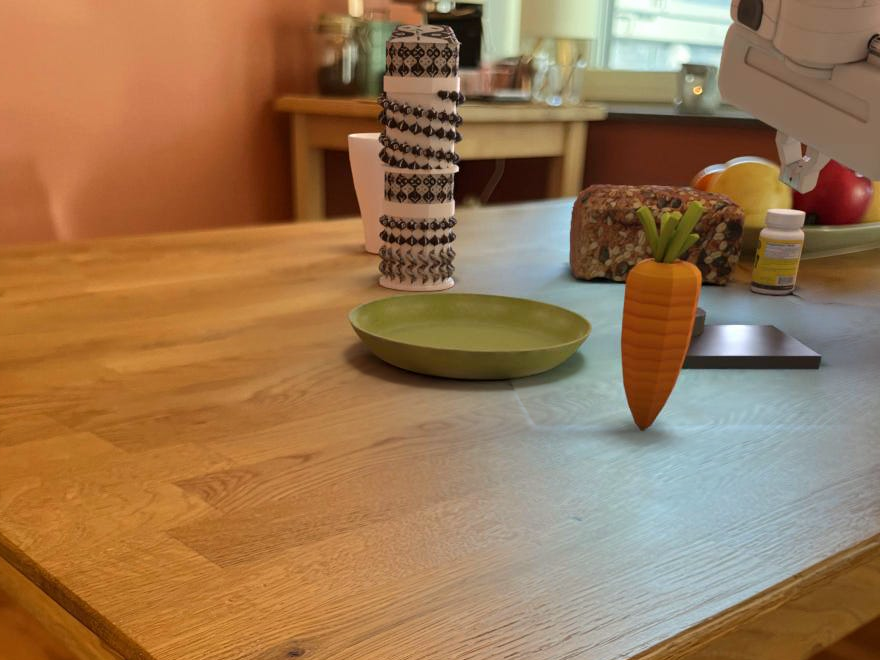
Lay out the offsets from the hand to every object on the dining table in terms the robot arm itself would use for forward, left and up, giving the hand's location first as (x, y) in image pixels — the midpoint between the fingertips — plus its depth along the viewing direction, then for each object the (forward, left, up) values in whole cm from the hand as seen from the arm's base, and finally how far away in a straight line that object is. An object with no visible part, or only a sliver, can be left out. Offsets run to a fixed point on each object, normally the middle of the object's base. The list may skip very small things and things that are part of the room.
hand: (796, 185), depth 91 cm
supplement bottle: (-8, -19, -13) cm, 25 cm away
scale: (+7, +8, -13) cm, 17 cm away
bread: (+4, -27, -13) cm, 31 cm away
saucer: (+30, +9, -13) cm, 34 cm away
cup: (+34, -43, -13) cm, 57 cm away
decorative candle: (+32, -22, -13) cm, 41 cm away
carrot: (+20, +29, -13) cm, 38 cm away
